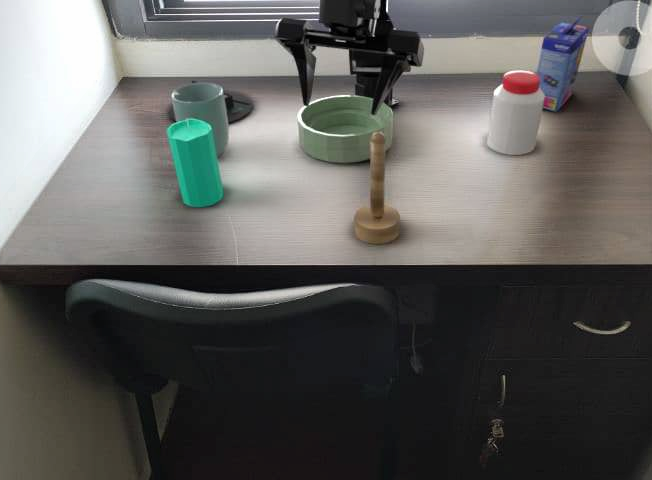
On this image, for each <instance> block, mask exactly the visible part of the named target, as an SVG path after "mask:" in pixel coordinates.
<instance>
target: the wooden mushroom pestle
mask: <svg viewBox="0 0 652 480" xmlns="http://www.w3.org/2000/svg"><path fill="white" fill-rule="evenodd" d="M385 144H386V139H385V136H384V135H383V134H382V133H380V132H376V133H374V134H373V135H372V136H371V151H370V159H369V160H370V163H369V164H370V166H369V167H370V169H369V171H370V172H369V173H370V174H369V175H370V176H369V177H370V178H369V181H370V183H369V187H370V188H369V190H370V192H369V194H370V195H369V196H370V197H369V200H370V201H369V204H366V205H364V206H361V207H359V208H358V209H357V210H356V211H355V212H354V217H353V221H354V223H353V224H354V227H353V228H354V234H355V236H356V238H357V239H358V240H360V241H362V242H364V243H367V244H372V245H382V244H383V245H384V244H388V243H391V242H392V241H394V240H395V239H397V237H398V236H399V235H400V227H401V226H400V225H401V215H400V212H399V211H398V210H397V209H396V208H395V207H393V206H391V205H388V204H385V188H386V187H385V184H386V183H385V182H386V151H385Z"/></svg>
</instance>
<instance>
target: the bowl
mask: <svg viewBox="0 0 652 480" xmlns="http://www.w3.org/2000/svg"><path fill="white" fill-rule="evenodd" d="M372 103H373V98H368V97H363V96H355V95H353V94H352V95H351V94H350V95H349V94H345V95H344V94H342V95H332V96H327V97H321V98H318V99H315V100H313V101H310V103H309V106H308V107H307V106H305V105H303V107H301V108H300V109H299V111H298V113H297V114H296V115H297V127H298V128H297V129H298V140H299V141H298V142H299V147H300V148H301V149H302V150H303V152H304V153H305V154H307V155H309V156H311V157H312V158H314V159H317V160H321V161H325V162H329V163H339V164H341V163H342V164H346V163H359V162H363V161H366V160H370V151H371V136H372V135H373V134H374V133H376V132H380V133H382V134H383V135H384V136H385V139H386V144H385V152H387V151H388V150H389V149H390V148H391V146H392V143H393V137H394V136H393V135H394V134H393V133H394V113H393V110H392V107H391V108H389V107H388V106H387V105H386V104H385V103H382V105H381V107H380V108H379V110H378V112H377V114H376V115H375V116H374V115H372V114H371V111H372Z"/></svg>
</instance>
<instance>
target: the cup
mask: <svg viewBox="0 0 652 480" xmlns="http://www.w3.org/2000/svg"><path fill="white" fill-rule="evenodd" d="M223 91H224V89H223V88H222V87H221V86H220V85H219V84H217V83H213V82H212V83H211V82H198V83H192V82H191V83H187V84H183V85H181V86H179V87H177V88H175V90H173V91H172V93H171V104H172V105H173V109H174V114H175V118H176V122H175V123H177V122H180V121H183V120H187V119H191V118H192V119H197V120H201V121H204V122H205V123H207V124H209V125H210V126H211V128H212V133H213V139H214V144H215V150H216V155H217V157H218V156H220V155H221V154H222V153H223V152H224V151H225V150H226V149H227V147H228V144H229V139H230V128H229V127H230V126H229V125H230V124H228V116H227V110H226V103H225V97H224V93H223ZM186 118H187V119H186Z"/></svg>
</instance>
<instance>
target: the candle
mask: <svg viewBox="0 0 652 480" xmlns="http://www.w3.org/2000/svg"><path fill="white" fill-rule="evenodd" d="M186 119H187V118H186ZM166 134H167V139H168V143H169V146H170V152H171V155H172V159H173V164H174V169H175V172H176V177H177V181H178V185H179V189H180V193H181V198H182V201H183V204H185V205H187V206H188V207H194V208H205V207H209V206H210V207H211V206H213V205H215V204H217V203H218V202H220V201H221V200H222V198H223V197H224V195H225V194H224V190H223V183H222V178H221V173H220V167H219V161H218V156H217V155H216V150H215V144H214V139H213V133H212V128H211V126H210V125H209V124H207V123H205V122H204V121H201V120H197V119H192V118H191V119H187V120H183V121H180V122H174V123H172V124H170V126H169V127H168V128H167V129H166Z"/></svg>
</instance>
